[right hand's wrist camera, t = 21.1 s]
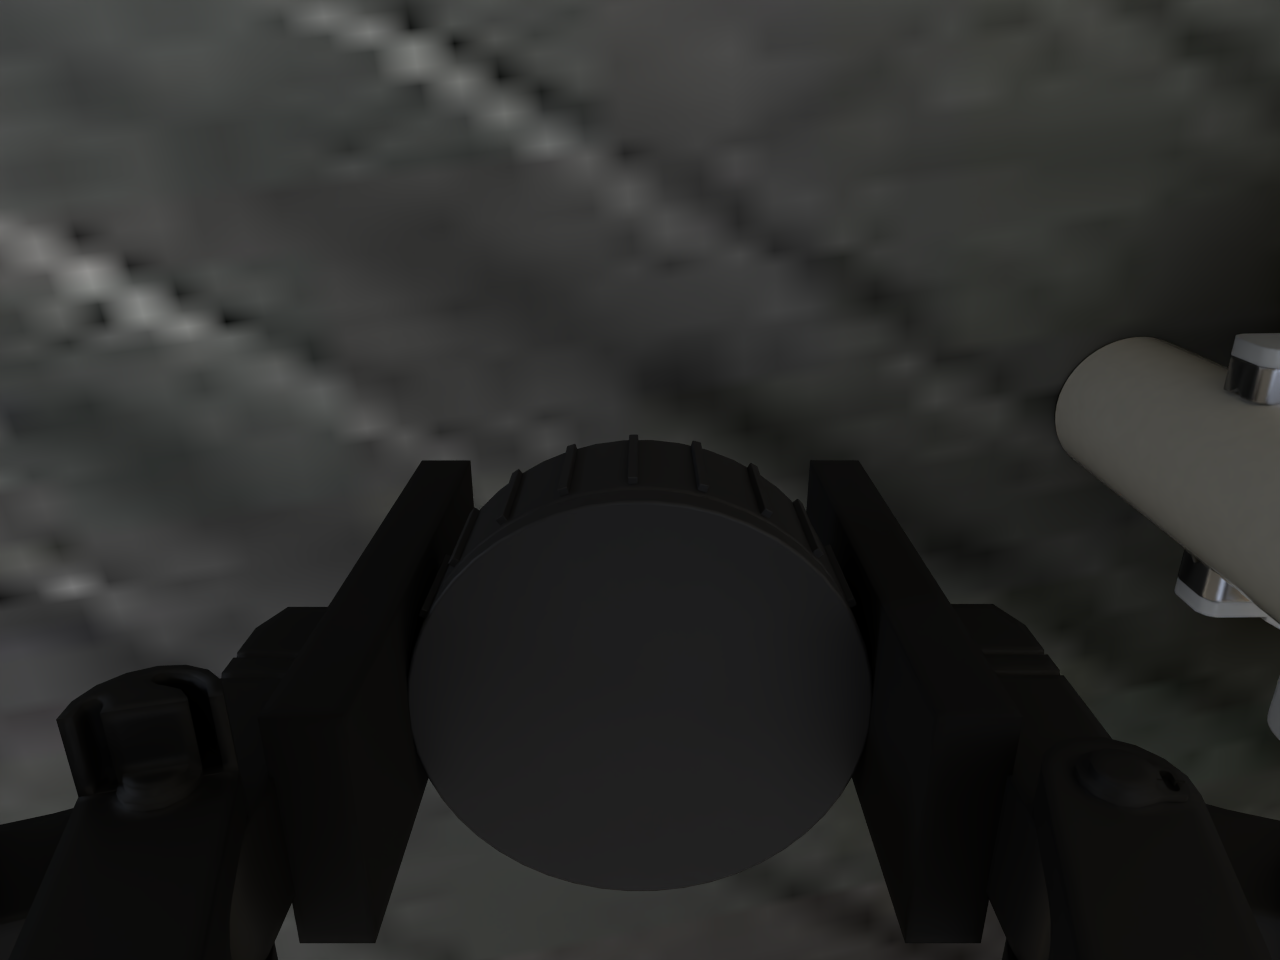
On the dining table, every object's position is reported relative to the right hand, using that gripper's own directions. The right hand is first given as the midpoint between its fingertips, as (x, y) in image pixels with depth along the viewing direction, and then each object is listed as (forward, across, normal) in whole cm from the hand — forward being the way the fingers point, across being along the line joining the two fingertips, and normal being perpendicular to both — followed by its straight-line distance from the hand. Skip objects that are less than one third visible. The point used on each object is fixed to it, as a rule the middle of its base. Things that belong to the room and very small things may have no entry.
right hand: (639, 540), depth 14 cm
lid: (-4, 0, 0) cm, 4 cm away
